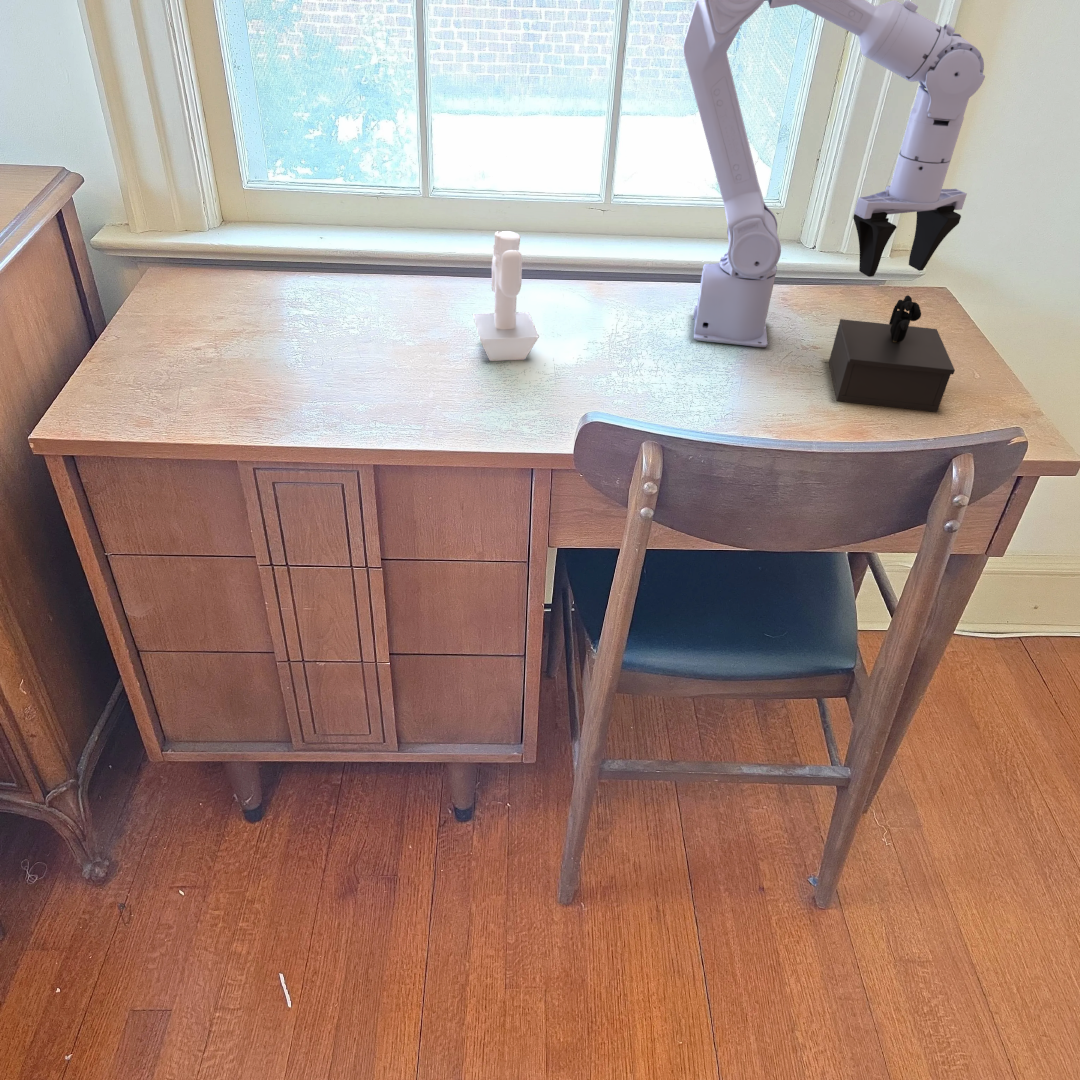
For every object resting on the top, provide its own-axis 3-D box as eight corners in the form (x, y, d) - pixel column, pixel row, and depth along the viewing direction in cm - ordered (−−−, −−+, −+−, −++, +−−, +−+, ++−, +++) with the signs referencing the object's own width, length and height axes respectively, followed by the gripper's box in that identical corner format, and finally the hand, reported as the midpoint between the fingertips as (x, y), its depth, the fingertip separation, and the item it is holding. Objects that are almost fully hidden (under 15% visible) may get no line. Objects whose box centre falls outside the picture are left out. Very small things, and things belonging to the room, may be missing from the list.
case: (937, 412, 105) (951, 371, 102) (836, 401, 106) (848, 360, 103) (922, 372, 113) (935, 333, 110) (828, 362, 114) (838, 323, 111)
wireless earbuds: (886, 325, 109) (898, 286, 106) (907, 328, 109) (920, 288, 106) (891, 350, 104) (904, 309, 101) (913, 353, 104) (927, 312, 100)
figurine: (526, 334, 117) (530, 219, 107) (539, 368, 109) (545, 247, 100) (471, 337, 115) (470, 220, 106) (480, 371, 108) (481, 249, 99)
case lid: (953, 374, 101) (955, 370, 101) (848, 363, 102) (850, 358, 102) (935, 333, 110) (936, 328, 109) (838, 323, 111) (840, 318, 110)
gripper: (950, 143, 108) (916, 253, 117) (851, 150, 104) (824, 264, 112) (992, 160, 103) (954, 273, 112) (890, 168, 99) (858, 286, 107)
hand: (891, 270), depth 112 cm, fingers open, 7 cm apart
